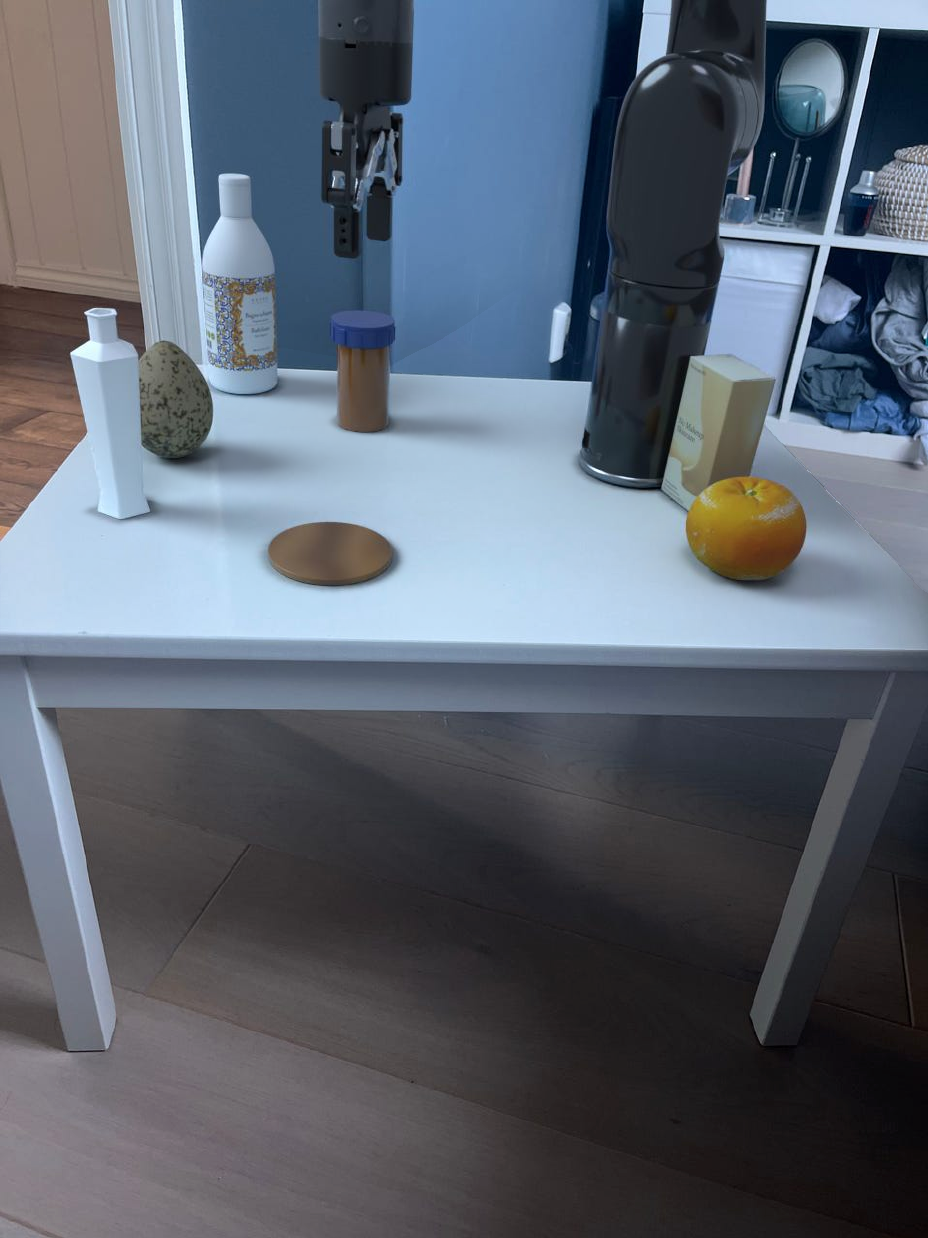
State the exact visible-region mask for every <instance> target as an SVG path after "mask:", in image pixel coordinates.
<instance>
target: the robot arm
mask: <svg viewBox="0 0 928 1238" xmlns="http://www.w3.org/2000/svg"><path fill="white" fill-rule="evenodd" d="M767 3H768V0H671V4H670V7H671V8H670V15H669V26H668V35H667V42H666V51H665V55H663V56H661V57H659V58H657V59H654V60H653V61H652V62H650V63H649V64H648V65H646V66H645V67H644V68H643V69H642V70H641V71H640V72H639V73H638V74H637V75H636V76H635V78H634V80H632V82H631V84H630V86H629V87H628V90H627V91H626V94H625V96H624V99H623V102H622V105H621V108H620V112H619V115H618V119H617V125H616V131H615V138H614V144H613V151H612V152H613V154H612V161H611V171H610V178H609V179H610V180H609V189H608V190H609V191H608V199H607V209H606V221H605V222H606V236H607V240H608V244H609V257H608V258H609V259H608V264H607V265H608V266H607V272H606V278H605V284H604V285H605V286H604V292H603V299H602V300H603V301H602V305H601V306H602V308H601V312H600V313H601V314H600V321H599V326H598V327H599V328H598V334H597V341H596V347H595V355H594V362H593V369H592V370H593V371H592V376H591V382H590V389H589V397H588V401H587V402H588V403H587V409H586V416H585V422H584V425H583V431H582V432H581V433H582V437H581V448H580V451H579V455H578V464H579V466H580V467H581V469H582V470H584V471H585V472H586V473H587V474H589V475H591V476H592V477H595V478H597V479H598V480H602V481H604V482H607V483H610V484H613V485H619V486H623V487H631V488H643V489H644V488H647V489H648V488H659V487H662V483H663V479H664V474H665V470H666V465H667V461H668V456H669V452H670V447H671V443H672V438H673V434H674V429H675V425H676V420H677V416H678V411H679V407H680V402H681V398H682V393H683V389H684V384H685V380H686V375H687V371H688V366H689V362H690V357H691V356H700V355H706V349H707V343H708V339H709V335H710V329H711V325H712V320H713V315H714V310H715V304H716V300H717V295H718V291H719V286H720V281H721V277H722V272H723V266H724V263H725V258H726V257H725V255H726V254H725V253H726V251H725V247H724V244H723V243H722V241H721V237H720V223H721V215H722V209H723V203H724V199H725V193H726V187H727V181H728V177H729V175H731V174H732V173H734V172H735V171H736V170H738V169H739V168H740V167H741V166H742V165H743V163H744V162H746V160H747V159H748V157H749V156H750V155H751V152H753V149H754V147H755V145H756V144H757V142H758V139H759V136H760V134H761V130H762V127H763V121H764V116H765V115H764V113H765V98H766V96H765V95H766V46H767V45H766V42H767V40H766V39H767ZM317 4H318V5H317V6H318V7H317V9H318V10H317V11H318V13H317V14H318V15H317V16H318V83H319V85H318V91H319V95H320V97H321V98H322V99H323V100H325V101H329V102H337V103H338V105H339V110H338V119H337V120H323V122H322V125H321V185H320V187H321V189H320V190H321V192H320V195H321V196H320V197H321V202H322V203H323V204H328V205H329V208H331V209H333V253H334V255H335V256H336V257H338V258H344V259H350V260H351V259H353V260H355V259H358V258H359V257H361V255H362V231H363V229H362V228H363V227H362V226H363V225H362V221H363V219H362V218H363V217H362V215H363V214H362V213H363V211H361V210H362V208H363V207H362V206H363V202H364V198H365V194H366V193H367V194H368V195H366V226H365V227H366V229H365V230H366V231H365V232H366V233H365V234H366V237H367V239H369V240H370V241H378V242H387V241H389V240H390V239H391V238H392V231H393V228H392V227H393V226H392V225H393V197H395V196H396V192H397V187H401V186H402V182H403V135H404V134H403V132H404V131H403V130H404V126H403V124H404V117H403V113H401V112H392V111H391V108H390V107H398V106H405V105H408V104H409V103H410V102H411V99H412V88H413V87H412V84H413V83H412V82H413V56H414V55H413V53H414V24H415V23H414V22H415V0H318V3H317Z"/></svg>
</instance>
